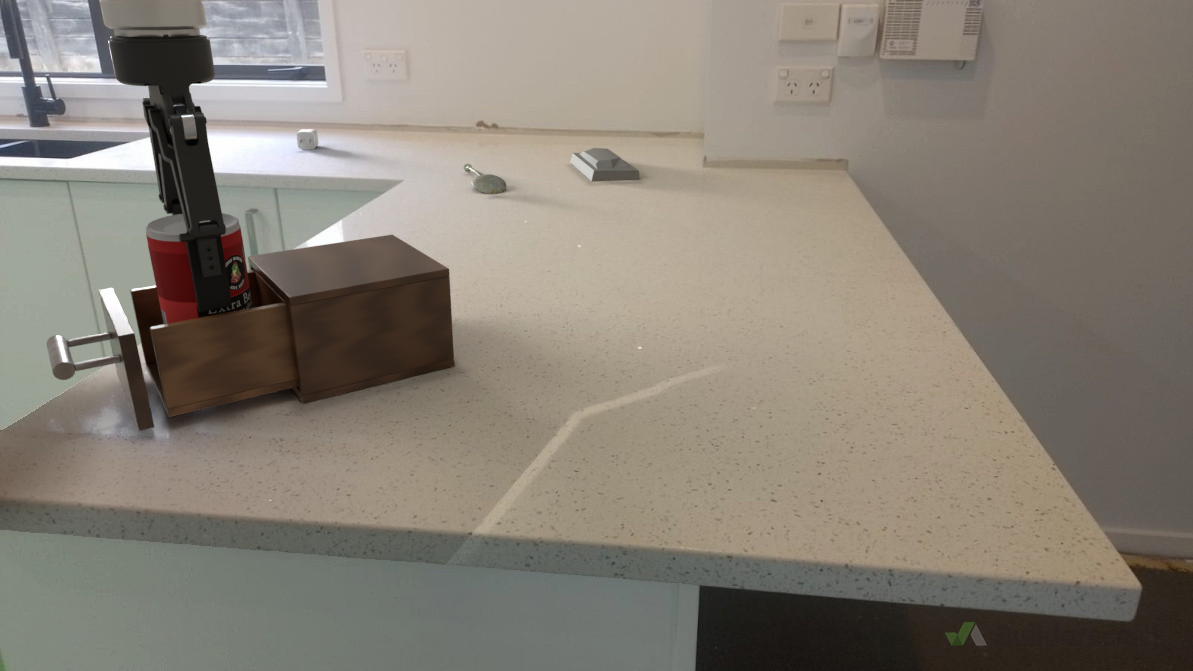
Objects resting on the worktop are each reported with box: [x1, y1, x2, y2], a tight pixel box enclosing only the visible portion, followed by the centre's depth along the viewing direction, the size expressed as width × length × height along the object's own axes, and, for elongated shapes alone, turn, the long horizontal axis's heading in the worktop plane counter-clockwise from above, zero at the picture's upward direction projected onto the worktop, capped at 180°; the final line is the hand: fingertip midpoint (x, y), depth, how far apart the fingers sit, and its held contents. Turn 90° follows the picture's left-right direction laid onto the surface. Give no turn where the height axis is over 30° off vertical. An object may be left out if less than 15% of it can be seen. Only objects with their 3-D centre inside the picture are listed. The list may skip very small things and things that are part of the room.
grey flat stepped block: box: [569, 147, 640, 182], centre depth 180 cm, size 10×20×4 cm, turn 14°
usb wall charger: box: [295, 128, 319, 150], centre depth 199 cm, size 4×7×4 cm, turn 7°
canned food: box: [145, 212, 253, 324], centre depth 77 cm, size 8×8×11 cm
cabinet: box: [247, 234, 455, 404], centre depth 86 cm, size 16×15×11 cm
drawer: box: [46, 269, 299, 432], centre depth 77 cm, size 20×13×9 cm
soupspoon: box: [463, 163, 507, 195], centre depth 168 cm, size 22×3×7 cm
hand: (204, 293), depth 77 cm, fingers closed on canned food, 8 cm apart
